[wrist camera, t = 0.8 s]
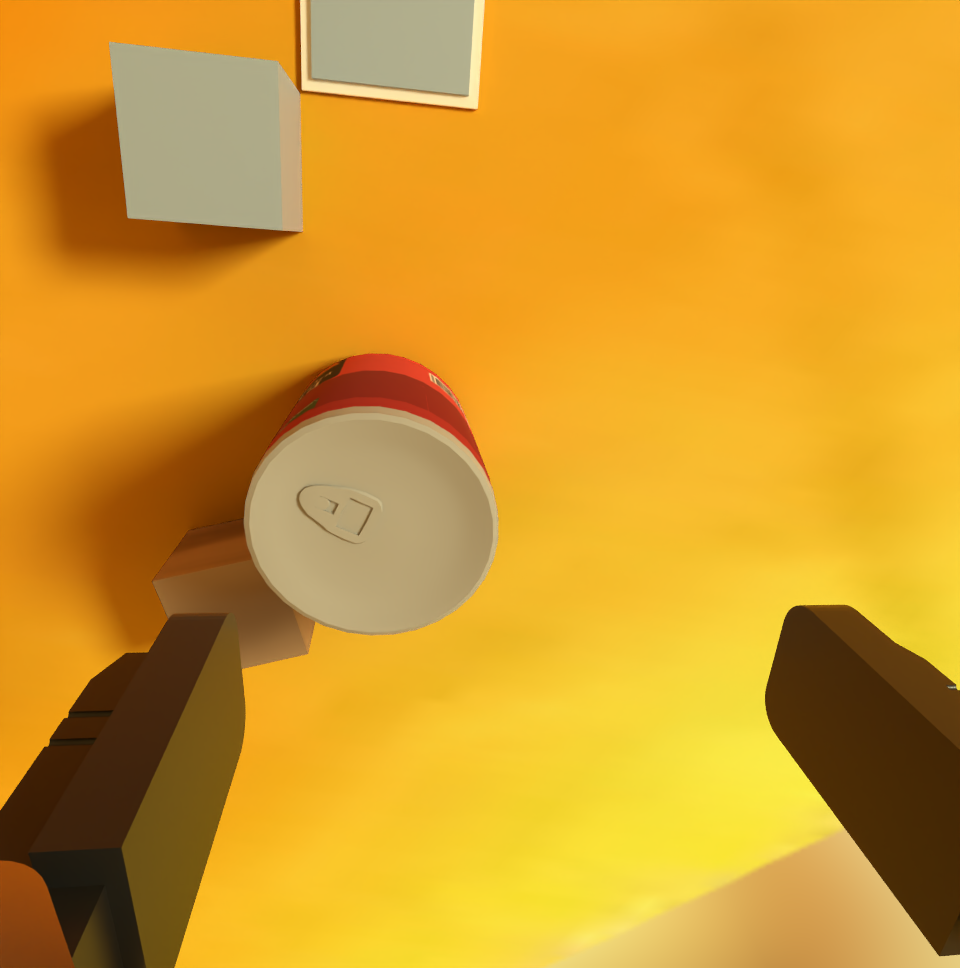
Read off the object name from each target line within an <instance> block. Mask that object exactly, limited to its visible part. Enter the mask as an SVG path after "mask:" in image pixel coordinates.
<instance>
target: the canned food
mask: <svg viewBox="0 0 960 968" xmlns="http://www.w3.org/2000/svg"><path fill="white" fill-rule="evenodd" d="M244 529H245V535H246V542H247V546H248V549H249V552H250V554H251V557H252V559H253V562H254V564H255V567H256V568H257V570H258V571H259V573H260V574H261V576H262V577H263V579H264V580H265V582H266V583H267V585H268V586H269V587H270V588H271V589H272V590H273V591H274V592H275V593H276V594H277V595H278V596H279V597H280V598H281V599H282V601H283V602H285V603H286V604H287V605H289V606H290V607H292V608H293V609H294V610H296V611H297V612H299V613H300V614H302V615H303V616H305V617H307V618H309V619H311V620H313V621H315V622H317V623H320V624H322V625H324V626H327V627H330V628H334V629H337V630H341V631H344V632H348V633H356V634H364V635H389V634H398V633H403V632H408V631H412V630H417V629H419V628H422V627H425V626H427V625H430V624H432V623H435V622H437V621H439V620H441V619H442V618H444V617H446V616H447V615H449V614H451V613H452V612H454V611H455V610H457V609H458V608H459V607H460V606H461V605H462V604H463V603H465V602H466V601H467V600H468V599H469V598H470V597H471V596H472V595H473V594H474V592H475V591H476V590H477V588H478V587H479V586H480V584H481V583H482V582H483V580H484V579H485V577H486V575H487V573H488V571H489V569H490V566H491V564H492V562H493V560H494V555H495V551H496V547H497V542H498V510H497V506H496V501H495V497H494V492H493V488H492V486H491V483H490V479H489V476H488V473H487V471H486V468H485V465H484V463H483V460H482V458H481V455H480V452H479V450H478V447H477V445H476V442H475V439H474V437H473V434H472V432H471V429H470V426H469V424H468V421H467V419H466V416H465V414H464V411H463V409H462V407H461V405H460V403H459V400H458V399H457V397H456V396H455V394H454V393H453V392H452V390H451V389H450V388H449V386H448V385H447V384H446V383H445V382H444V381H443V380H442V379H441V378H440V377H438V376H437V375H436V374H435V373H434V372H432V371H430V370H429V369H427V368H426V367H424V366H423V365H421V364H419V363H416V362H414V361H411V360H409V359H406V358H404V357H399V356H394V355H389V354H364V355H359V356H353V357H349V358H347V359H344V360H342V361H339V362H337V363H334V364H333V365H331V366H330V367H328V368H327V369H325V370H324V371H322V372H321V373H320V374H319V375H318V376H317V377H316V378H315V379H314V380H313V381H312V382H311V383H310V384H309V385H308V387H307V388H306V390H305V391H304V393H303V394H302V396H301V397H300V399H299V401H298V402H297V404H296V405H295V407H294V408H293V410H292V411H291V413H290V414H289V416H288V417H287V419H286V420H285V422H284V424H283V425H282V427H281V428H280V430H279V431H278V433H277V434H276V436H275V437H274V439H273V440H272V442H271V444H270V445H269V447H268V449H267V450H266V452H265V454H264V455H263V457H262V459H261V461H260V463H259V465H258V466H257V468H256V470H255V471H254V474H253V477H252V480H251V483H250V486H249V489H248V493H247V497H246V500H245V512H244Z"/></svg>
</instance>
